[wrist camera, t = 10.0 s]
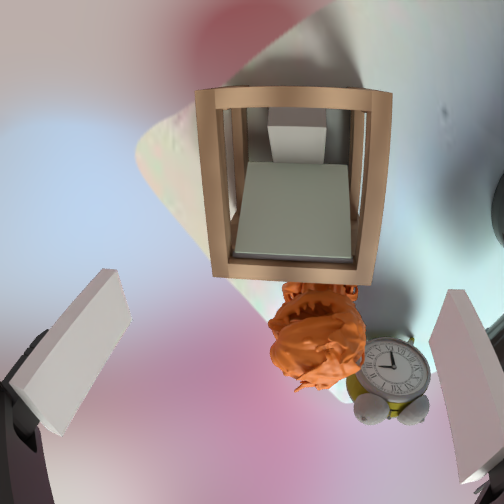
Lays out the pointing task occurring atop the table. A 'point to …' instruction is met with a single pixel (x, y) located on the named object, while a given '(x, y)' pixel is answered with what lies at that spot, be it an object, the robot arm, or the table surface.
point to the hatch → (295, 213)
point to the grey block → (297, 134)
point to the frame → (215, 171)
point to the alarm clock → (390, 383)
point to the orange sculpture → (318, 334)
